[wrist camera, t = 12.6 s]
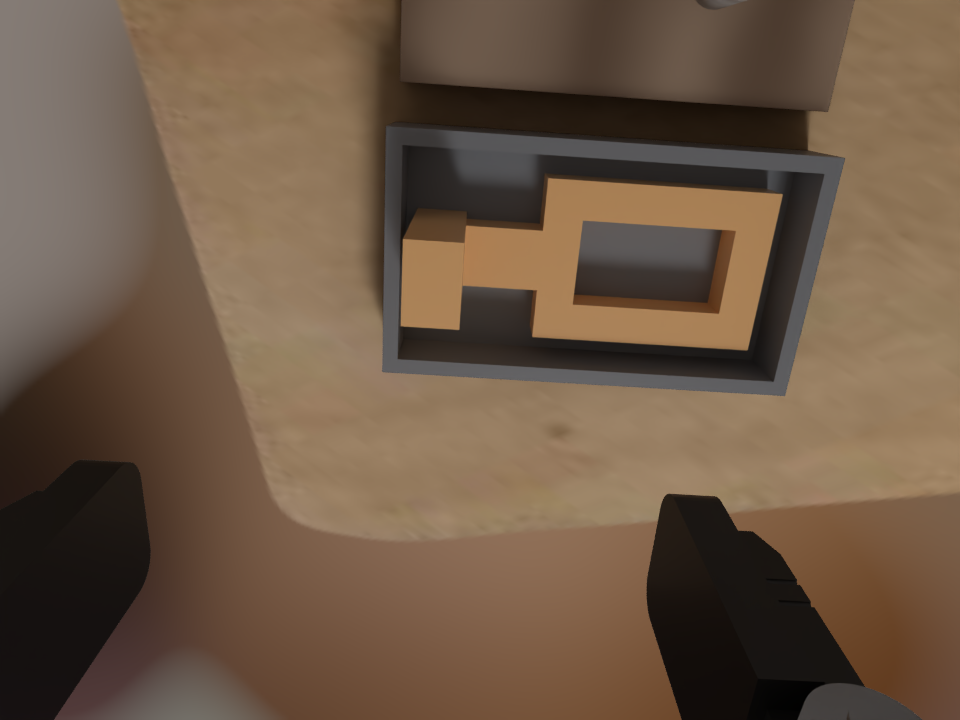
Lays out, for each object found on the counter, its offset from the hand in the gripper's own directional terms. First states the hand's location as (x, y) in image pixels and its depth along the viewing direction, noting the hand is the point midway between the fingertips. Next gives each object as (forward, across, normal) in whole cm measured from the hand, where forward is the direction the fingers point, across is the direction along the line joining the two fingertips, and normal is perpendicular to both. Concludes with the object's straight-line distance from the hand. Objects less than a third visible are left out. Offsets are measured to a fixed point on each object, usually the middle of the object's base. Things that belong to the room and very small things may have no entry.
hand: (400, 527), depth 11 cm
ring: (+19, -6, 0) cm, 20 cm away
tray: (+20, -6, 0) cm, 21 cm away
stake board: (+20, -6, -10) cm, 23 cm away
